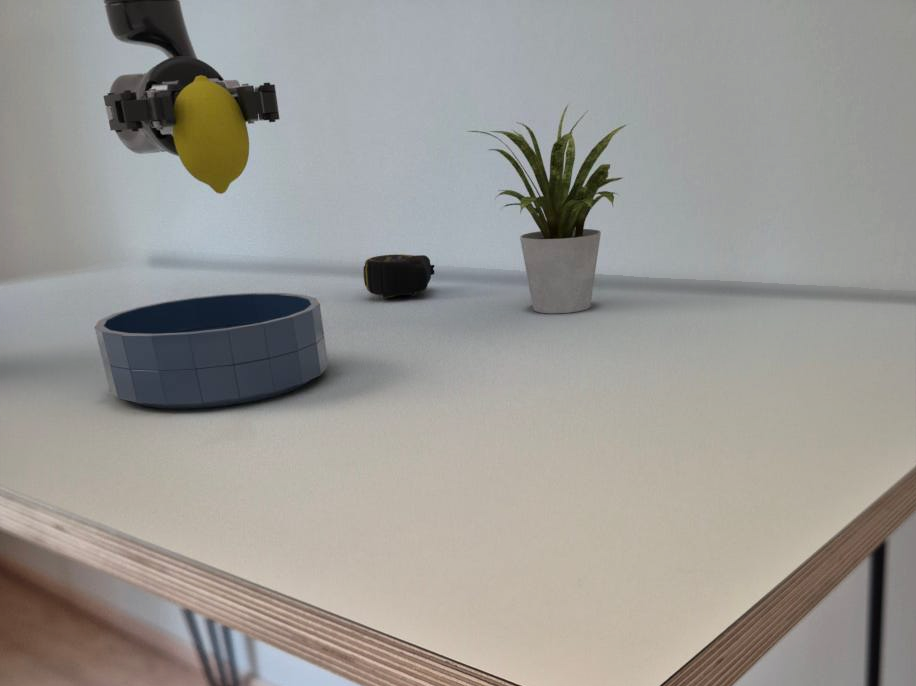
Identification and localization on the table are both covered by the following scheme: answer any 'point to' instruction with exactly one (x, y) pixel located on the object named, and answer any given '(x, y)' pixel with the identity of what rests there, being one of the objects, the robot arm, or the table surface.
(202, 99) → the lemon
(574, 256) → the house plant
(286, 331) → the bowl
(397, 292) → the tape measure
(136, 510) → the table surface
